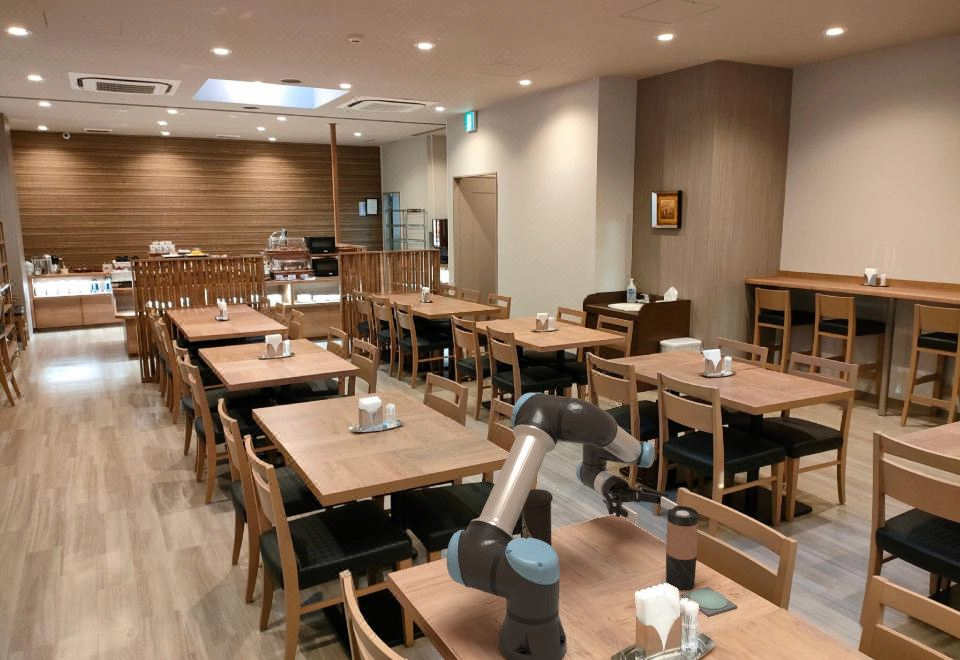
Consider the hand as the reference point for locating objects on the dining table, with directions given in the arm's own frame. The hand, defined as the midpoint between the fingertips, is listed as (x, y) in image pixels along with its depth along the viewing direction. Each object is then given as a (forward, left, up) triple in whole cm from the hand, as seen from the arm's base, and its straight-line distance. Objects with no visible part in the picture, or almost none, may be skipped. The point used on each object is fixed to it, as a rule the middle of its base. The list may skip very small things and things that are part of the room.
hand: (657, 514), depth 185 cm
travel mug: (0, -11, -15) cm, 19 cm away
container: (-28, +16, -15) cm, 36 cm away
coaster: (0, -21, -15) cm, 26 cm away
